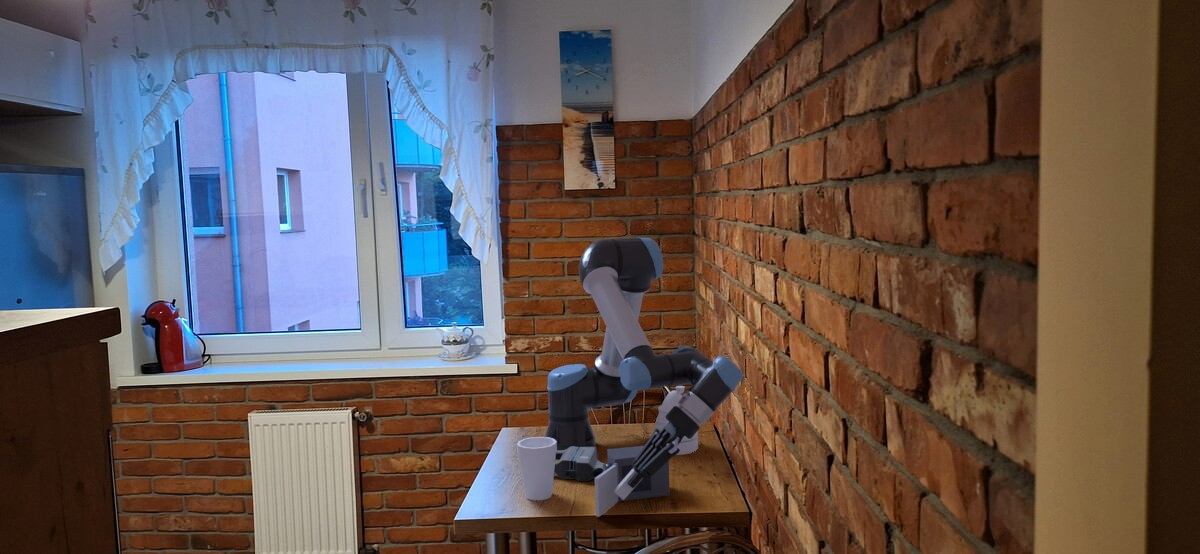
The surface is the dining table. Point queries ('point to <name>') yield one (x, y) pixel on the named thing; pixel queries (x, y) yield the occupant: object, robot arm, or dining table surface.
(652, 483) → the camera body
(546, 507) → the dining table surface
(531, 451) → the foam cup
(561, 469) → the camcorder
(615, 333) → the robot arm
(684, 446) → the honey pot
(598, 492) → the side door
